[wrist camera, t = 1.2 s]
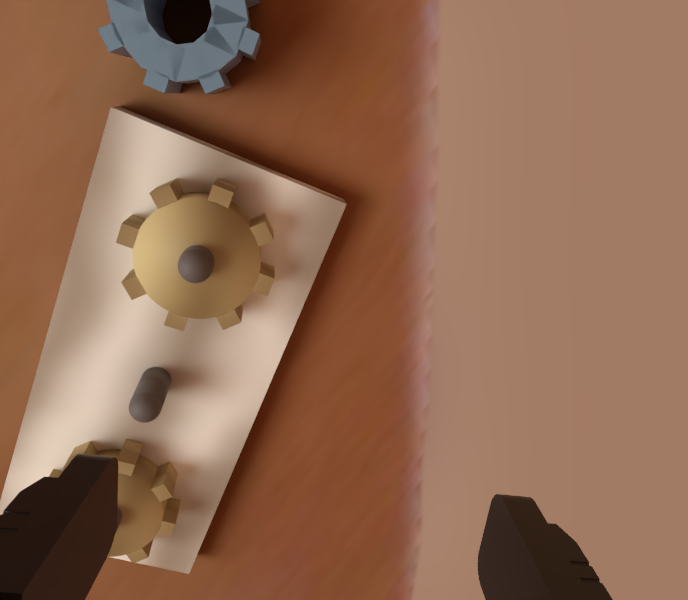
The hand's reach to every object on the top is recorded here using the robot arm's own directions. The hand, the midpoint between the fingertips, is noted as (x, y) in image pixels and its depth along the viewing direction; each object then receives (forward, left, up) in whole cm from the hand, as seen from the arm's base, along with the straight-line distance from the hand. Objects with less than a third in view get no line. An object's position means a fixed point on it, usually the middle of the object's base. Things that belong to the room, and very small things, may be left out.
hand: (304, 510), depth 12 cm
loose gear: (-8, +9, -20) cm, 23 cm away
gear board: (-4, -9, -20) cm, 22 cm away
